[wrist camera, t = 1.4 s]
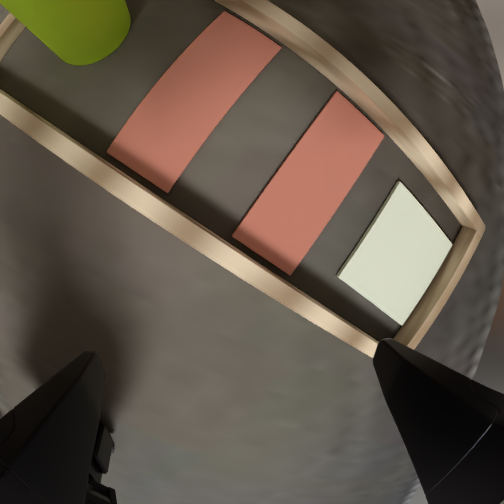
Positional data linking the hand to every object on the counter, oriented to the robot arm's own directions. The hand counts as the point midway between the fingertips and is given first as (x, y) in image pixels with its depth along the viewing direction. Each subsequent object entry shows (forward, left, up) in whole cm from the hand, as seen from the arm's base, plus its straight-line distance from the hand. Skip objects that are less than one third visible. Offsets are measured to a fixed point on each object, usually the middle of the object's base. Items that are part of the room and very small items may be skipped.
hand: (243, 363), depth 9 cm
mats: (+3, +8, -12) cm, 15 cm away
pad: (+15, -1, -12) cm, 20 cm away
